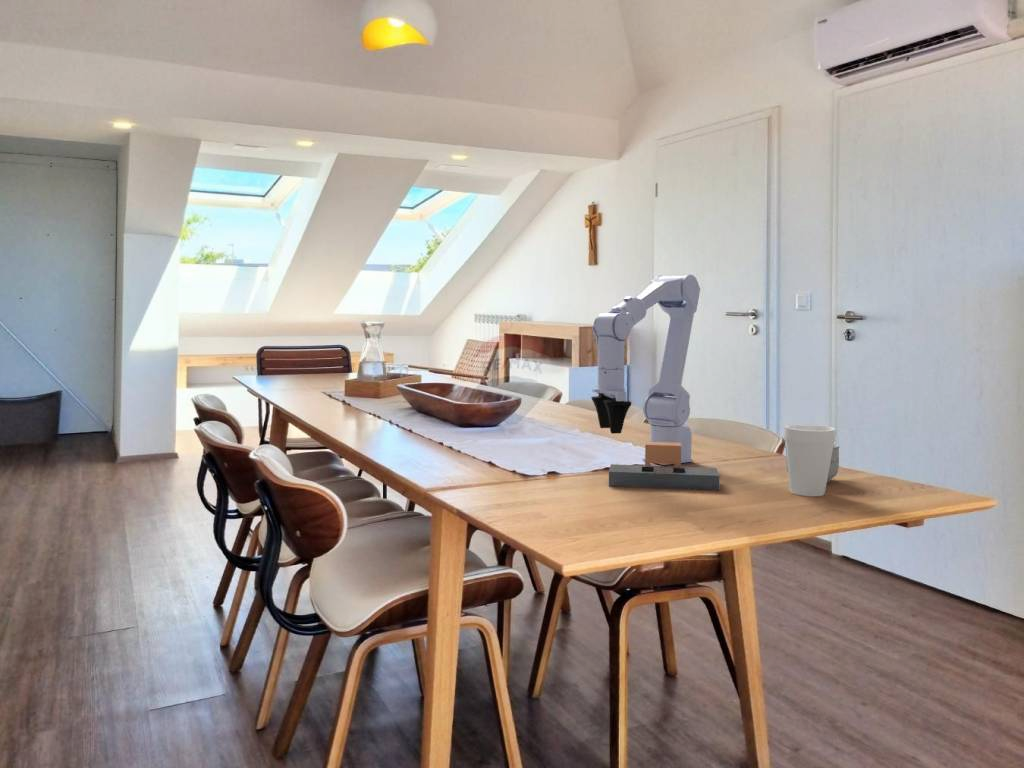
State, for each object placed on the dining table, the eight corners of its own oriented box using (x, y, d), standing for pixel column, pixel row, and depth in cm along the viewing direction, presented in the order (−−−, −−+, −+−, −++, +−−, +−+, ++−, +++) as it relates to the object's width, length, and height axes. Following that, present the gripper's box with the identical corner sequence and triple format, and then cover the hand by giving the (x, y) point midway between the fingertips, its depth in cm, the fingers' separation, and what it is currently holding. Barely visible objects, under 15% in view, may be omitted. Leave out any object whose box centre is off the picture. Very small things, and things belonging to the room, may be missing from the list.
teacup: (812, 488, 166) (814, 449, 165) (772, 478, 176) (774, 441, 175) (859, 482, 172) (861, 444, 172) (819, 473, 182) (820, 437, 181)
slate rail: (716, 482, 172) (716, 468, 171) (719, 490, 164) (719, 475, 164) (610, 478, 175) (610, 464, 175) (608, 486, 168) (608, 471, 167)
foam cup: (827, 500, 156) (829, 432, 155) (777, 494, 161) (779, 428, 160) (836, 490, 164) (839, 426, 163) (789, 485, 169) (791, 423, 168)
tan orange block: (680, 474, 180) (680, 442, 179) (680, 478, 176) (681, 445, 175) (645, 472, 181) (645, 441, 180) (644, 476, 177) (645, 444, 176)
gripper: (584, 366, 184) (583, 426, 185) (603, 371, 170) (602, 436, 171) (614, 365, 185) (613, 425, 186) (635, 370, 171) (635, 435, 172)
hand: (610, 430), depth 179 cm, fingers open, 7 cm apart
